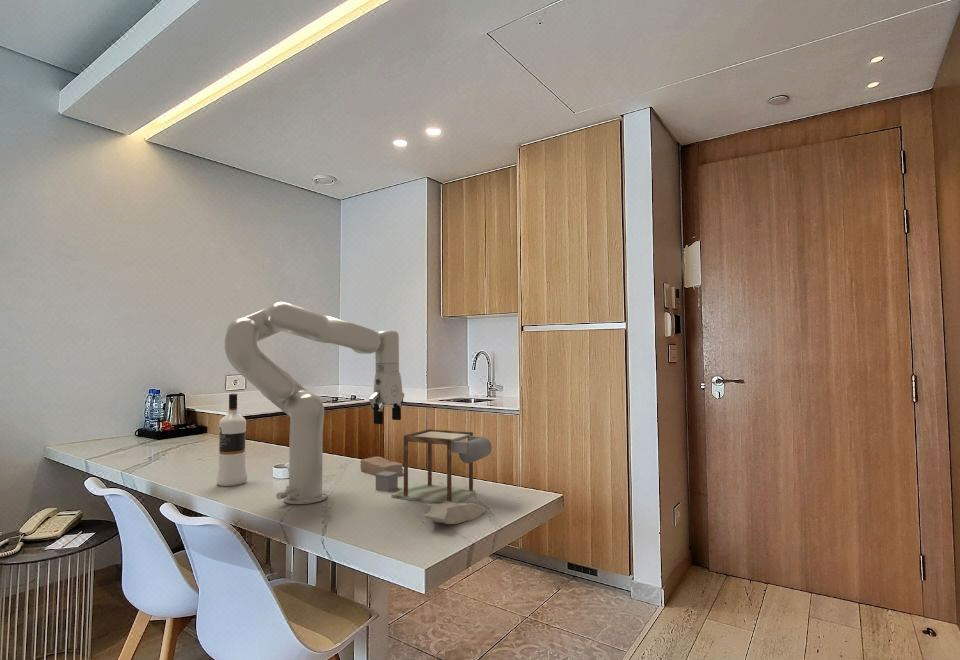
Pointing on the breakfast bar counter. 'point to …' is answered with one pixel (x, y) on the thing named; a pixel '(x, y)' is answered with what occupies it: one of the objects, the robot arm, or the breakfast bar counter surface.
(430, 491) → the trapdoor frame
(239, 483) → the vodka
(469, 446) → the trapdoor
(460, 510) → the rock
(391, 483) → the stone block
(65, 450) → the breakfast bar counter surface
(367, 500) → the breakfast bar counter surface
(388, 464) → the brick
